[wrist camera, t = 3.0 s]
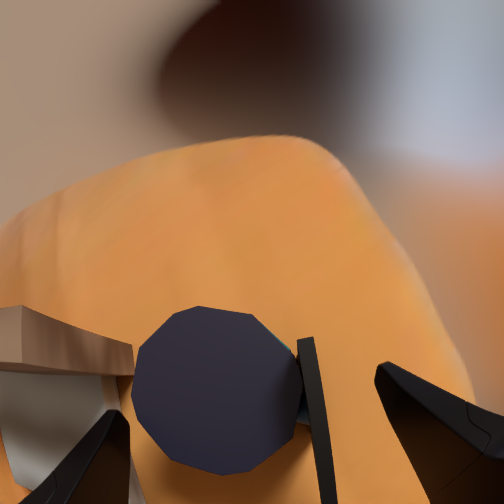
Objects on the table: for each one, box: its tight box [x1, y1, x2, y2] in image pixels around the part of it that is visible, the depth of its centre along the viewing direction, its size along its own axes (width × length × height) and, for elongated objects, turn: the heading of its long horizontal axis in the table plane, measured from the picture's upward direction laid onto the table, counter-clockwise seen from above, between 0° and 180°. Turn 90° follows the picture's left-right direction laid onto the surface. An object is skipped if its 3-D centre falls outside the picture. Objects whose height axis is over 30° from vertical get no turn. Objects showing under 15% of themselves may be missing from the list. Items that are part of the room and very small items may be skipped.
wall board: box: [0, 305, 146, 504], centre depth 8 cm, size 12×15×10 cm
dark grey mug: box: [131, 306, 338, 504], centre depth 10 cm, size 8×6×10 cm
